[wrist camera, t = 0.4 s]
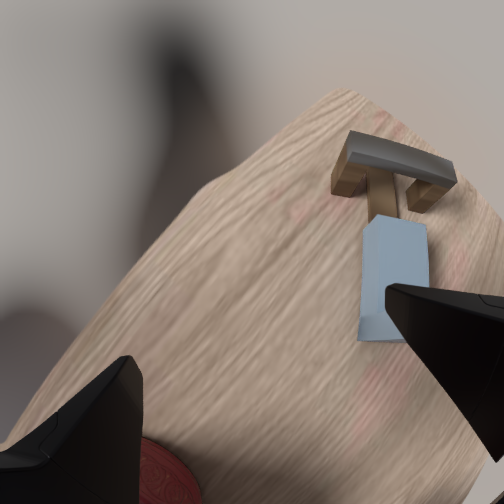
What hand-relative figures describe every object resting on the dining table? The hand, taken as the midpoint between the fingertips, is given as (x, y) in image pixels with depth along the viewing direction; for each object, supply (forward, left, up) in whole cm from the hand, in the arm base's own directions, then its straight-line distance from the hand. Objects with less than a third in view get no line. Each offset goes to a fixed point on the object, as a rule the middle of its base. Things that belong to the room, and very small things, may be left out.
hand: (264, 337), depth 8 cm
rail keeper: (-4, -16, -14) cm, 21 cm away
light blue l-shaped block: (-7, -10, -13) cm, 18 cm away
